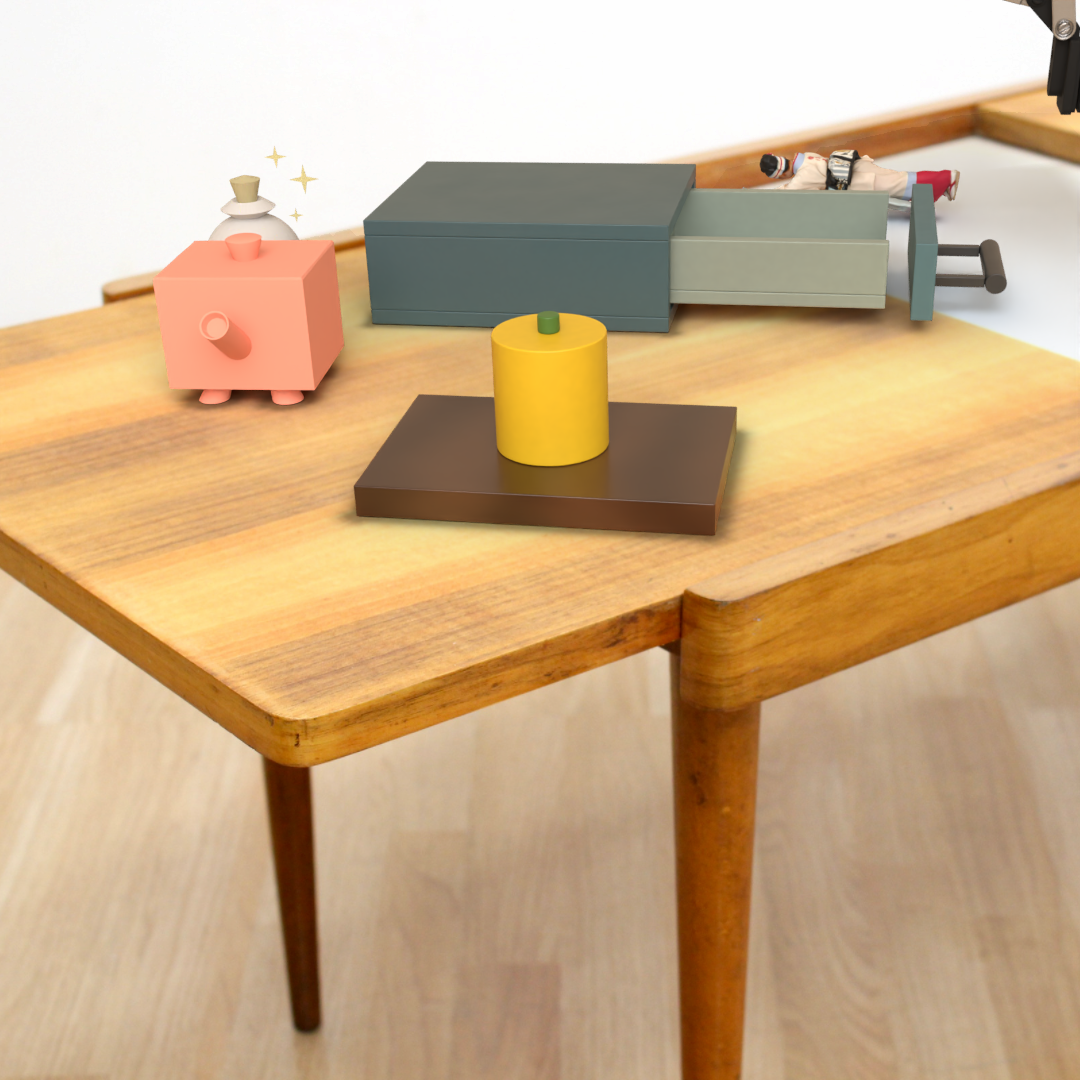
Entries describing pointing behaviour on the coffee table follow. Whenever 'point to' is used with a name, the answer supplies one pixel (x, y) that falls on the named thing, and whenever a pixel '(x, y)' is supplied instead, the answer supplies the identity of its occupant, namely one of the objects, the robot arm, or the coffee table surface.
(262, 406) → the coffee table surface
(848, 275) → the drawer
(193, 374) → the pink cube teapot
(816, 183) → the figurine
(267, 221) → the corked potion bottle
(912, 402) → the coffee table surface
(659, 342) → the coffee table surface
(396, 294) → the cabinet
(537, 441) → the pepper
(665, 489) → the board
